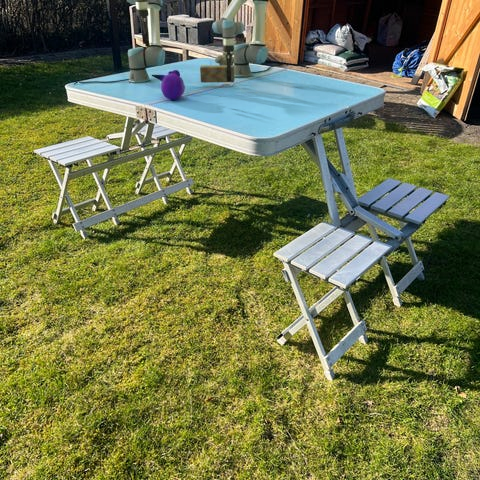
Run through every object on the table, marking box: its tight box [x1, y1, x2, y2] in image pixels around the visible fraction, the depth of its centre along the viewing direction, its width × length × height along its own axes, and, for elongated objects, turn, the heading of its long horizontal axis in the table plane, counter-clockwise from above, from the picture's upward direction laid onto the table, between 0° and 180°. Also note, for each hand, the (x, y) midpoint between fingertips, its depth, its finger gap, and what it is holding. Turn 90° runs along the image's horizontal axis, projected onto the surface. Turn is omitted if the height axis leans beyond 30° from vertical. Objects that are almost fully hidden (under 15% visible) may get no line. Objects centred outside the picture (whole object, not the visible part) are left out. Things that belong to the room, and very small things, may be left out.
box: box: [199, 64, 236, 83], centre depth 313 cm, size 23×8×10 cm, turn 89°
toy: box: [151, 69, 186, 101], centre depth 286 cm, size 16×18×27 cm
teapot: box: [214, 51, 234, 65], centre depth 375 cm, size 21×12×15 cm, turn 120°
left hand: (146, 45), depth 298 cm, fingers open, 13 cm apart
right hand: (229, 80), depth 315 cm, fingers closed on box, 8 cm apart
